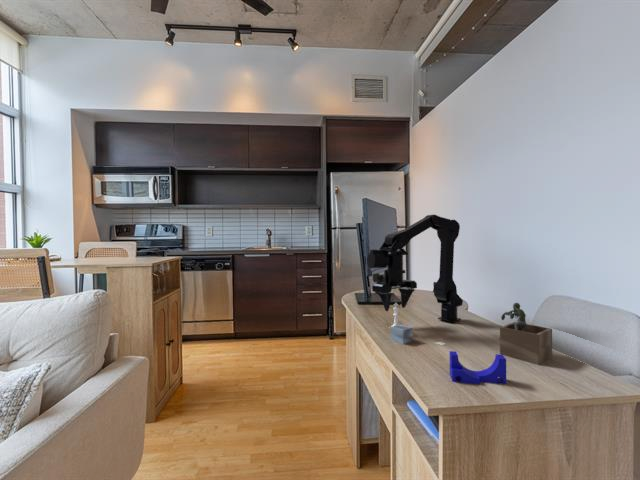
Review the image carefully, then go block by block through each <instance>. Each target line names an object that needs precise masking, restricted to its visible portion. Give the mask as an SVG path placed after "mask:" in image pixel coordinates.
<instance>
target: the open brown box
mask: <svg viewBox="0 0 640 480" xmlns="http://www.w3.org/2000/svg"><path fill="white" fill-rule="evenodd" d="M515 323H516V321H514V322H511V323H509V324H505V325H502V326H500V327H499V355H503V356H504V357H505V356H506V357H508V358H512V359H515V360H519V361H523V362H526V363H529V364H532V365H533V364H534V365H537V366H538V365H541V364H542V363H544V362H545V361H547V360H549V359H551V358H553V328H550V327H544V326H539V325H534V324H528V323H526V324H527V325H526V326H525V332H524V331H522V328H521V326H519V330H515Z"/></svg>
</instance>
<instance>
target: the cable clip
mask: <svg viewBox="0 0 640 480" xmlns="http://www.w3.org/2000/svg"><path fill="white" fill-rule="evenodd" d="M459 360H460V359H459V355H458V353H457V351H454V350H449V377H450V379H451V382H453V383H464V384H471V385H480V384H481V382H482V383H491V384H501V385H507V358H506V357H505V355H501V354H500V353H499V354H495V358H494V359H493V362H492V363H491V365H490V366H489V367H488V368H486V369H483V370H471V369H468V368H467V367H465V366H464V365H463V364H462V363H461V362H460V361H459Z"/></svg>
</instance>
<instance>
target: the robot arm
mask: <svg viewBox="0 0 640 480" xmlns="http://www.w3.org/2000/svg"><path fill="white" fill-rule="evenodd" d="M460 226H461V225H460V223H459V222H458V221H457V220H456V219H449V218H446V217H442V216H439V215H437V214H428V215H426V216H424V217H423V218H421V219H419V220H418V221H416V222H414V223H412V224H411V225H408V226H407V227H406V228H404V229H401V230H398V231H394V232H390V233H388V234H387V235H385V237H384V241H383V243H382V244H381V245H380V248H379V249H369V253H368V254H367V258H366V263H367V266H368V268H369V269H384V268H386V269H384V272H383V274H380V273H378V272H377V273H373V274H372V281H373V282H374V283H373V285H371V286H372V287H371V288H372V289H371V290H372V292H374V293H375V294H377V295H378V296H379V298H380V299H381V302H382V305H383V307H384V308H383V309H384V311H385V312H389V310H390V305H391V300H392V295H393V293H392V291H393V290H395V289H397V290H398V291H399V293H400V303H401V307H402V308H403V309H405V307H406V306H407V304H408V302H409V301H410V300H409V299H410V297H411V296H412V294H413V293H414V291H415V289H417V288H418V283H417V282H416V281H415V280H413V279H412V280H411V279H404V274H405V273H406V269H404V256H408V255H409V253H408V251H406V250H405V247H406V246H407V245H408V244H409V243H410V241H411V240H412V239H413V238H414V237H416V236H418V235H420V234H421V233H424V232H425V231H426V230H428V229H430V228H431V229H433V230H435V231H436V234H437V237H438V239H439V242H440V252H439V253H440V255H439V257H440V258H439V276H438V279H437V281H434V282H433V284H432V285H433V289H432V293H433V295H434V297H435V299H436V301H437V303H438V304H441V305H440V306H441V309H440V317H437V319H438V320H440V321H446V322H450V323H454V322H455V323H456V322H458V321H462V318H461V317H458V307H461V306H462V305H463V302H464V301H463V299H462V297H461V296H460V295H459V294H458V289H457V285H456V283H455V281H454V279H453V277H454V259H455V258H454V257H455V255H454V253H455V251H454V250H455V242H456V240H457V239H458V237H459V235H460V230H461V229H460Z"/></svg>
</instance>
